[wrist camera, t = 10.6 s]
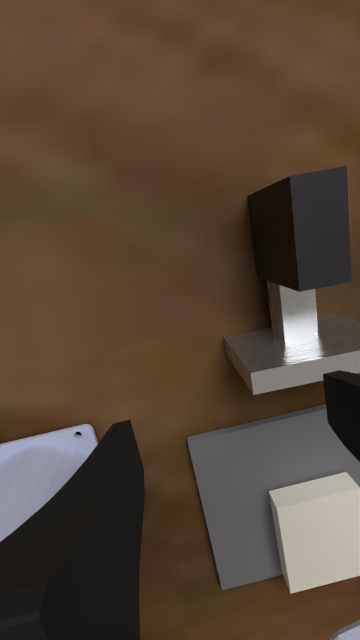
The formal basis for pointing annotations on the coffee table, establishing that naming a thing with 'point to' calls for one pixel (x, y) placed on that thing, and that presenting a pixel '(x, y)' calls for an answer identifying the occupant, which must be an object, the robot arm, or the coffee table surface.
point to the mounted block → (299, 283)
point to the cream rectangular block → (318, 531)
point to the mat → (260, 484)
